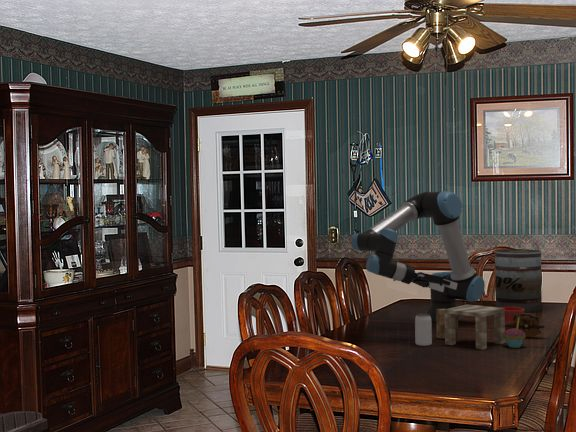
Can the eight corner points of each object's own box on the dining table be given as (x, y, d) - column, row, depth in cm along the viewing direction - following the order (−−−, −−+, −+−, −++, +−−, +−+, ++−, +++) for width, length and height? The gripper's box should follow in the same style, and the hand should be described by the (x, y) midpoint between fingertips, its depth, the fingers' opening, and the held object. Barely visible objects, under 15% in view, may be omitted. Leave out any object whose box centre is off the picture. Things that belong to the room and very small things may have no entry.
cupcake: (526, 345, 310) (525, 314, 309) (525, 349, 302) (524, 318, 301) (503, 344, 312) (503, 314, 312) (502, 348, 304) (501, 317, 304)
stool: (445, 344, 314) (444, 309, 314) (467, 338, 327) (467, 304, 326) (482, 349, 303) (482, 313, 302) (504, 342, 315) (504, 308, 314)
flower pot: (525, 332, 335) (525, 310, 335) (499, 332, 338) (498, 310, 337) (523, 328, 346) (523, 306, 345) (497, 328, 348) (497, 306, 348)
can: (413, 343, 318) (413, 313, 318) (429, 342, 319) (428, 313, 318) (417, 346, 312) (417, 316, 311) (433, 345, 312) (433, 315, 312)
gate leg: (460, 341, 317) (460, 312, 317) (453, 342, 316) (453, 313, 315) (443, 336, 329) (443, 308, 329) (436, 337, 328) (436, 309, 327)
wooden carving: (503, 337, 326) (503, 313, 326) (504, 335, 330) (504, 312, 330) (545, 339, 320) (545, 315, 320) (545, 337, 325) (545, 313, 324)
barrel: (488, 307, 408) (487, 250, 408) (529, 305, 412) (528, 248, 411) (507, 314, 386) (506, 253, 385) (549, 312, 390) (549, 251, 389)
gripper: (391, 284, 336) (436, 298, 339) (411, 279, 312) (460, 294, 315) (395, 267, 338) (440, 281, 341) (415, 261, 314) (464, 276, 317)
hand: (449, 287), depth 328 cm, fingers open, 13 cm apart
